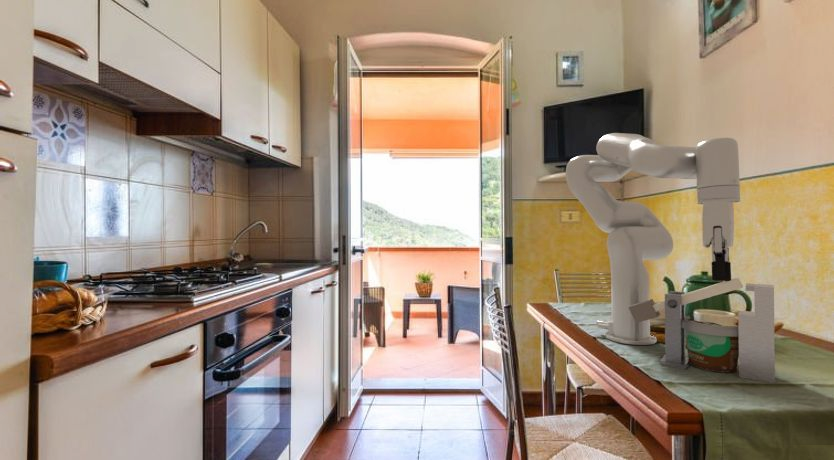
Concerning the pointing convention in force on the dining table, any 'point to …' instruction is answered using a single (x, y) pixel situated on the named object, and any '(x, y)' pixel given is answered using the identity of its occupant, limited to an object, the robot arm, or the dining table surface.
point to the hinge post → (674, 332)
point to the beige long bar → (682, 299)
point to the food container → (712, 345)
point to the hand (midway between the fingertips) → (721, 280)
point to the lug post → (758, 336)
